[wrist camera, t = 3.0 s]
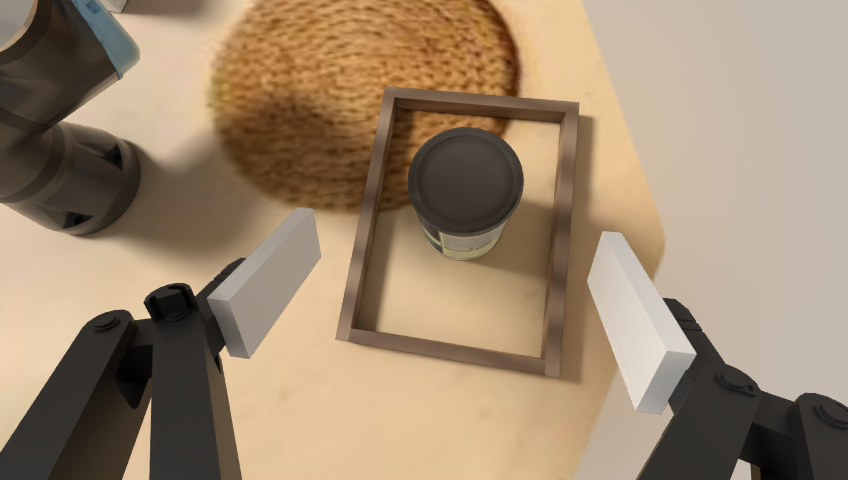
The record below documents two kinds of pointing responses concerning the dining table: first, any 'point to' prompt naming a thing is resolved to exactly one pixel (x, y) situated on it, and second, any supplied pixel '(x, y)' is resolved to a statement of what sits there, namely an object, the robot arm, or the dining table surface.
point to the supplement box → (114, 5)
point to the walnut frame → (560, 230)
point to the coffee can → (464, 190)
